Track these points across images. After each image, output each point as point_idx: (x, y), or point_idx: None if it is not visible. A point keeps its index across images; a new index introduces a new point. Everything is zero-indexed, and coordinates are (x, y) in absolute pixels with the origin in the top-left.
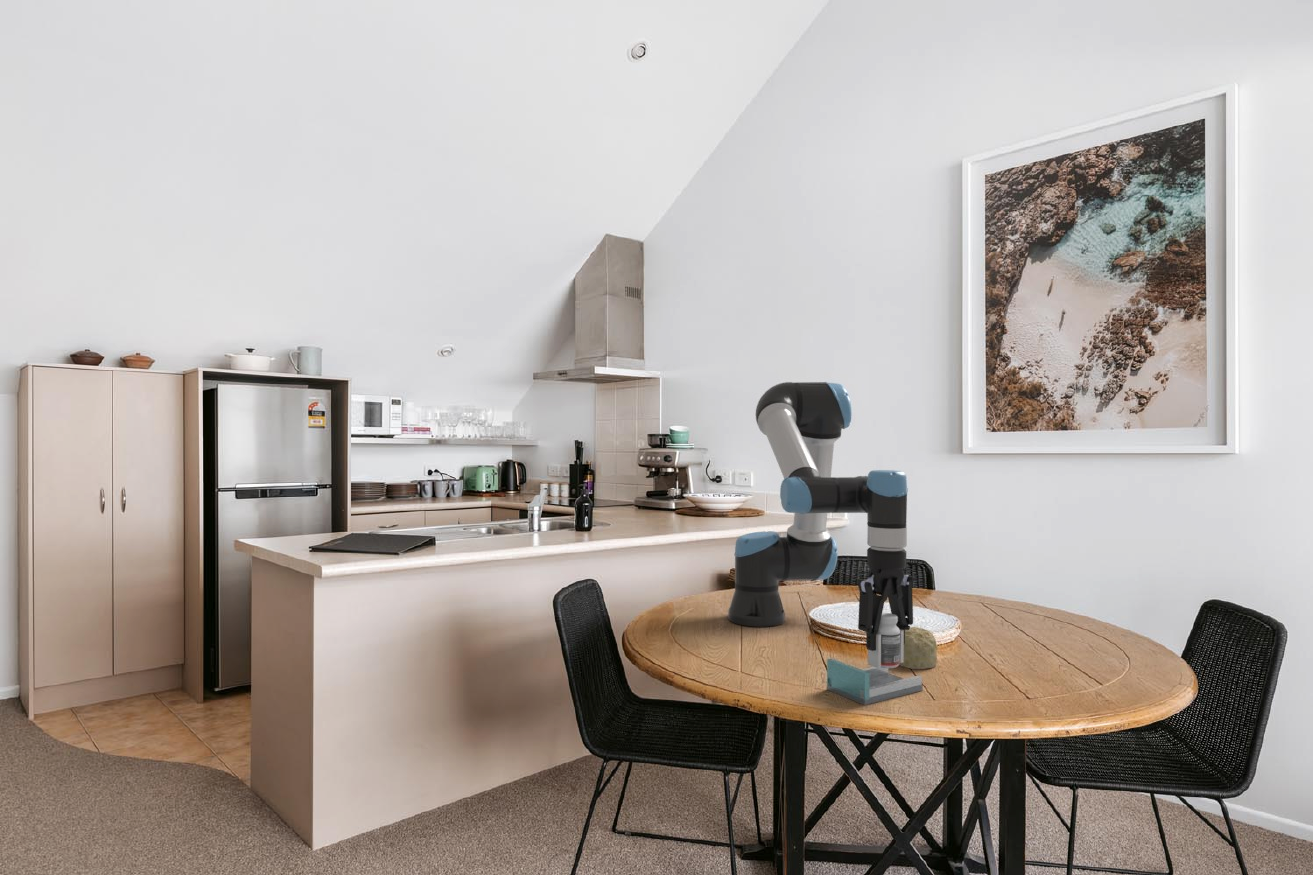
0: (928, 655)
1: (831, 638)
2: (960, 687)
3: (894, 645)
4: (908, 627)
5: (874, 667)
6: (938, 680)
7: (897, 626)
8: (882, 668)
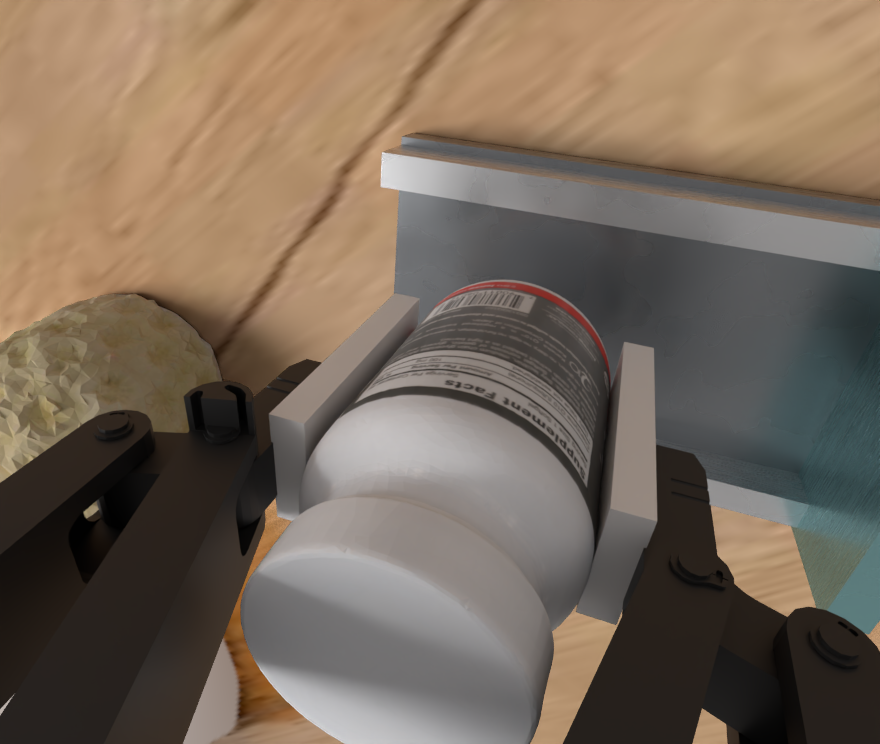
0: (99, 324)
1: (235, 669)
2: (194, 17)
3: (504, 354)
4: (215, 394)
5: None
6: (218, 174)
7: (265, 489)
8: None
